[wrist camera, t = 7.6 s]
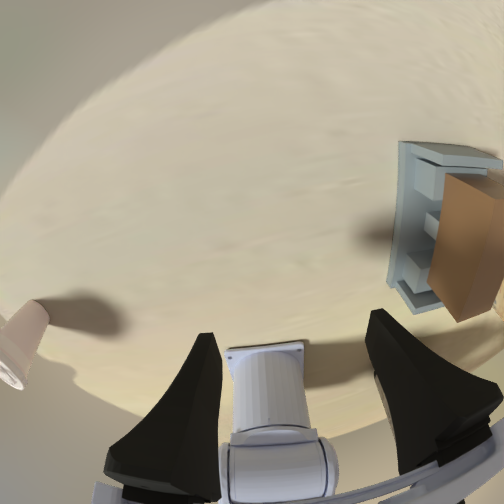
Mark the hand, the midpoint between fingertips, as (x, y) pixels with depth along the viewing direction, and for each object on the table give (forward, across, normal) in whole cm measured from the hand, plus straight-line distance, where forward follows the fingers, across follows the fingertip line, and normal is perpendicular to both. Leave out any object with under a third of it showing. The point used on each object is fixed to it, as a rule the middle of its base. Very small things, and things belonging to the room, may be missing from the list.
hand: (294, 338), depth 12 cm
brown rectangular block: (+6, -14, -1) cm, 15 cm away
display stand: (+10, -14, 0) cm, 17 cm away
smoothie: (+10, +28, +6) cm, 30 cm away
